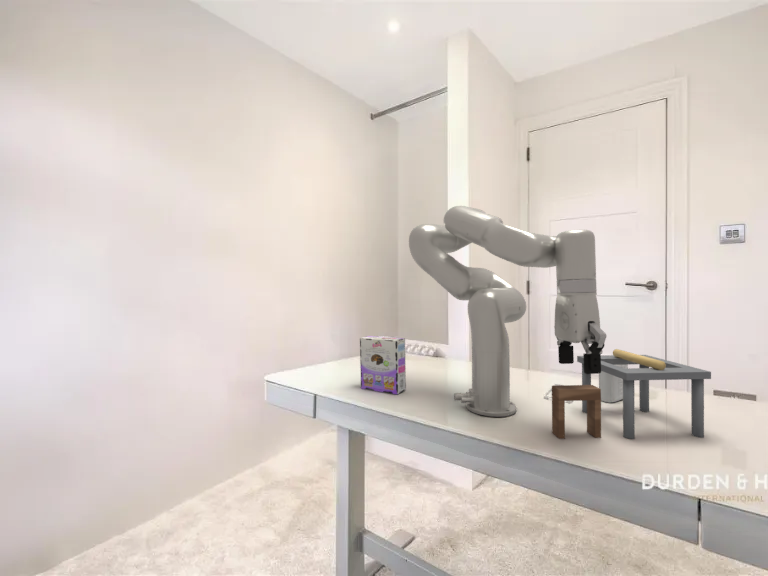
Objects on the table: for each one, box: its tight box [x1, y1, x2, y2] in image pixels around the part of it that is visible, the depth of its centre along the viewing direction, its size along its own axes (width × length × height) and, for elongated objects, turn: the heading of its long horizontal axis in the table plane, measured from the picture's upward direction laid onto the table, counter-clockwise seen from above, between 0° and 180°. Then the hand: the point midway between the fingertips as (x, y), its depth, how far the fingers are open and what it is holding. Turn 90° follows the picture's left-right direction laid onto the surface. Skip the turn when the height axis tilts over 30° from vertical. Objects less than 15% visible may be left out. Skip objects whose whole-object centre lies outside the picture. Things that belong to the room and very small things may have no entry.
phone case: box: [543, 383, 574, 404], centre depth 105 cm, size 7×1×15 cm
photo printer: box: [598, 364, 629, 404], centre depth 100 cm, size 10×4×12 cm, turn 123°
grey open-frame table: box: [576, 348, 712, 440], centre depth 83 cm, size 18×18×16 cm
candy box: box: [359, 335, 407, 395], centre depth 111 cm, size 14×6×16 cm, turn 58°
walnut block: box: [551, 384, 602, 440], centre depth 76 cm, size 3×9×10 cm, turn 92°
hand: (578, 368), depth 76 cm, fingers open, 9 cm apart
